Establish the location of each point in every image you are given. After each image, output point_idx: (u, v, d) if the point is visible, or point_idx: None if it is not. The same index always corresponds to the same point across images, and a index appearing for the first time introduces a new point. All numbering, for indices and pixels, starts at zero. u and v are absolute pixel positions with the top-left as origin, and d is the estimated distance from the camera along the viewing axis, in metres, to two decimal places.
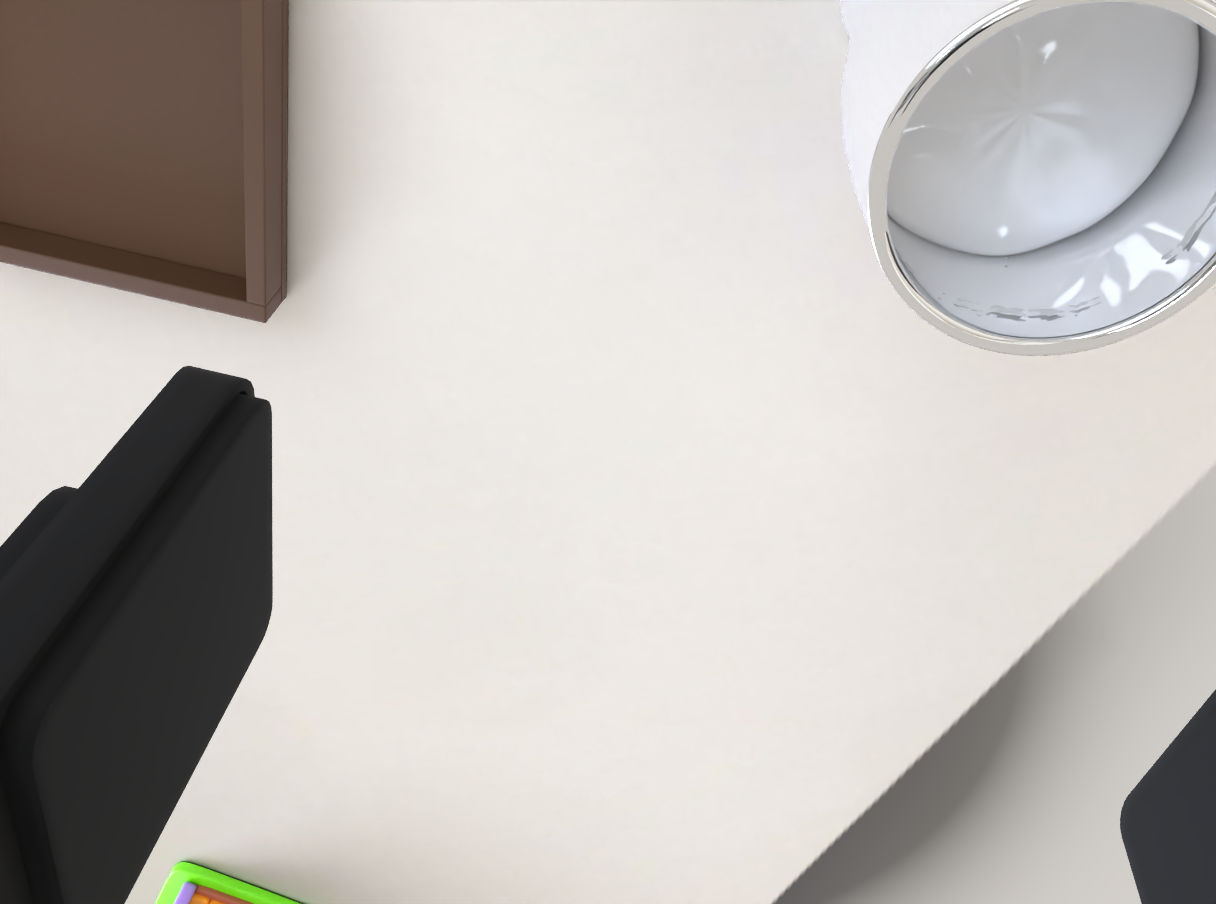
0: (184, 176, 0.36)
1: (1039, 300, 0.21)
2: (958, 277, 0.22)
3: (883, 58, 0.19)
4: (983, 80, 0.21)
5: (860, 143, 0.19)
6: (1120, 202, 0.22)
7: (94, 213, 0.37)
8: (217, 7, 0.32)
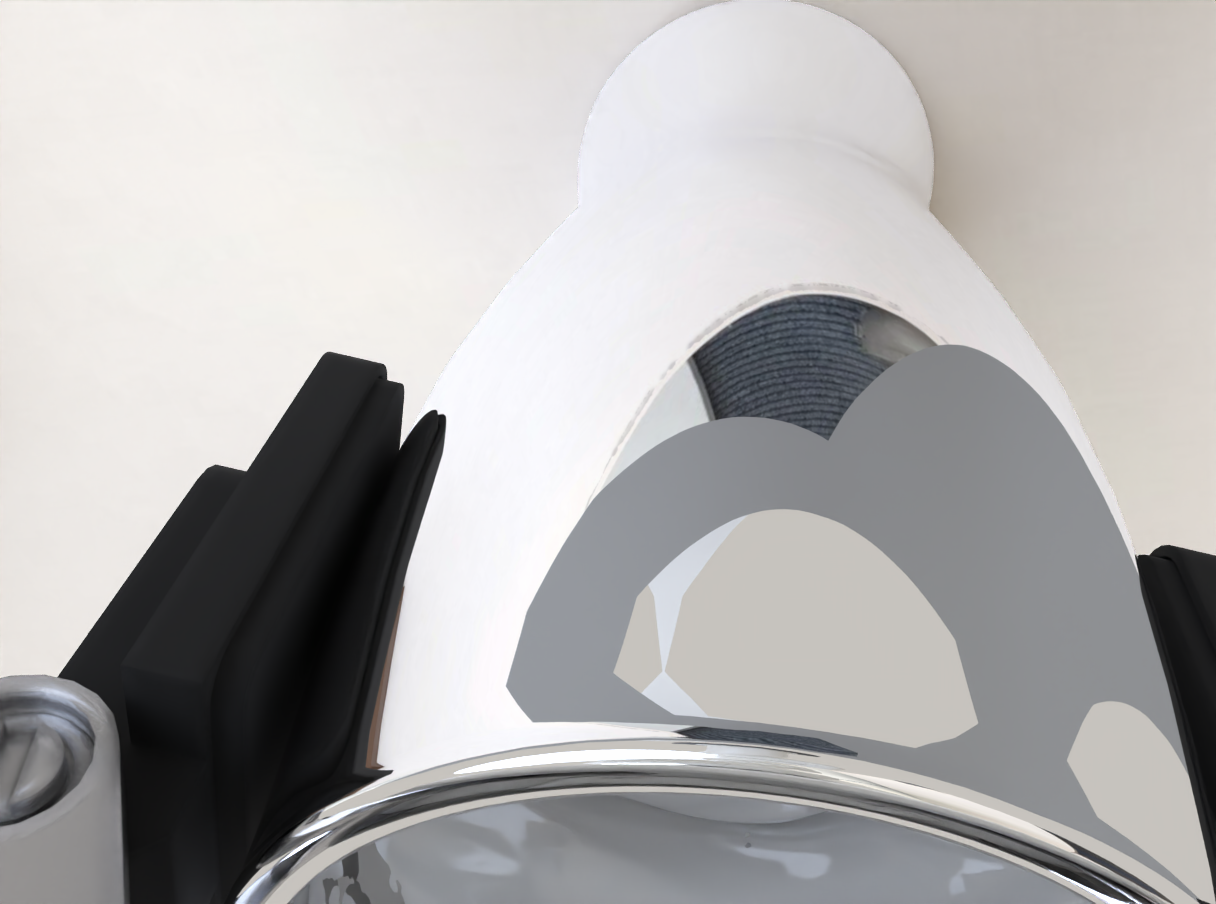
0: None
1: None
2: None
3: (319, 649, 0.08)
4: None
5: None
6: None
7: None
8: None
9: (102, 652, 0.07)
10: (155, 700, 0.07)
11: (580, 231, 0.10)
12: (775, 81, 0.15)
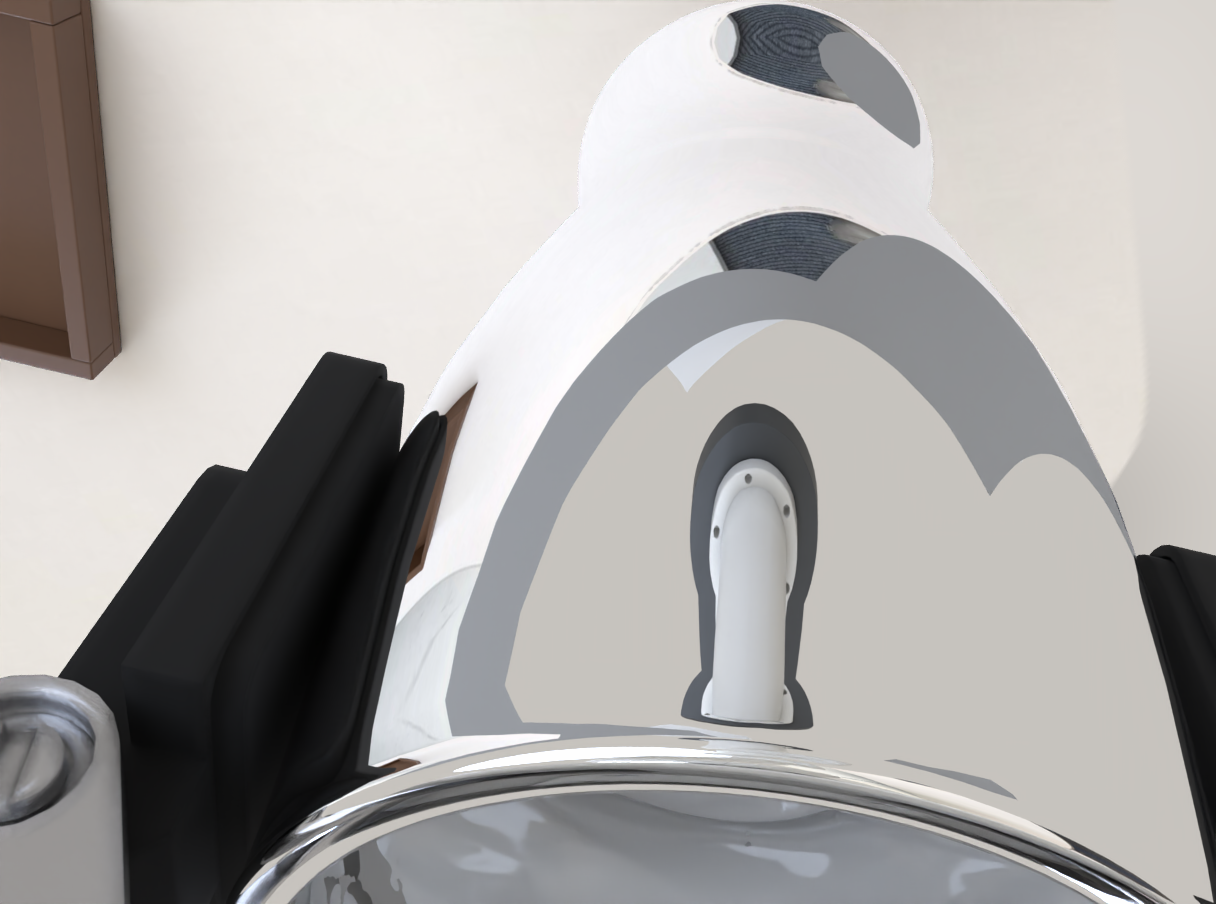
0: (4, 230, 0.35)
1: None
2: None
3: (320, 647, 0.08)
4: None
5: None
6: None
7: None
8: (20, 61, 0.31)
9: (103, 652, 0.07)
10: (156, 700, 0.07)
11: (581, 231, 0.10)
12: (776, 81, 0.15)
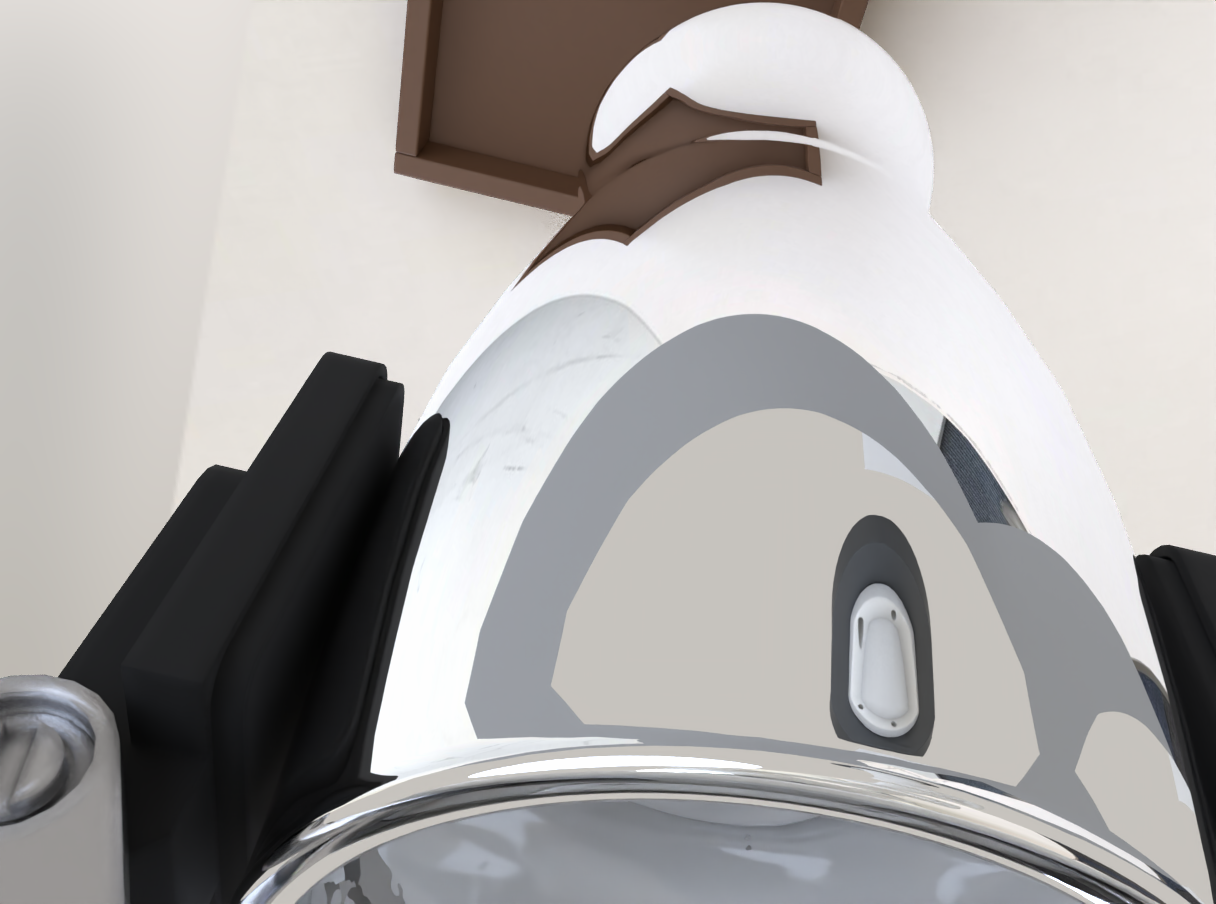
0: None
1: None
2: None
3: (321, 653, 0.08)
4: None
5: None
6: None
7: None
8: None
9: (102, 652, 0.07)
10: (156, 700, 0.07)
11: (581, 235, 0.10)
12: (776, 84, 0.15)
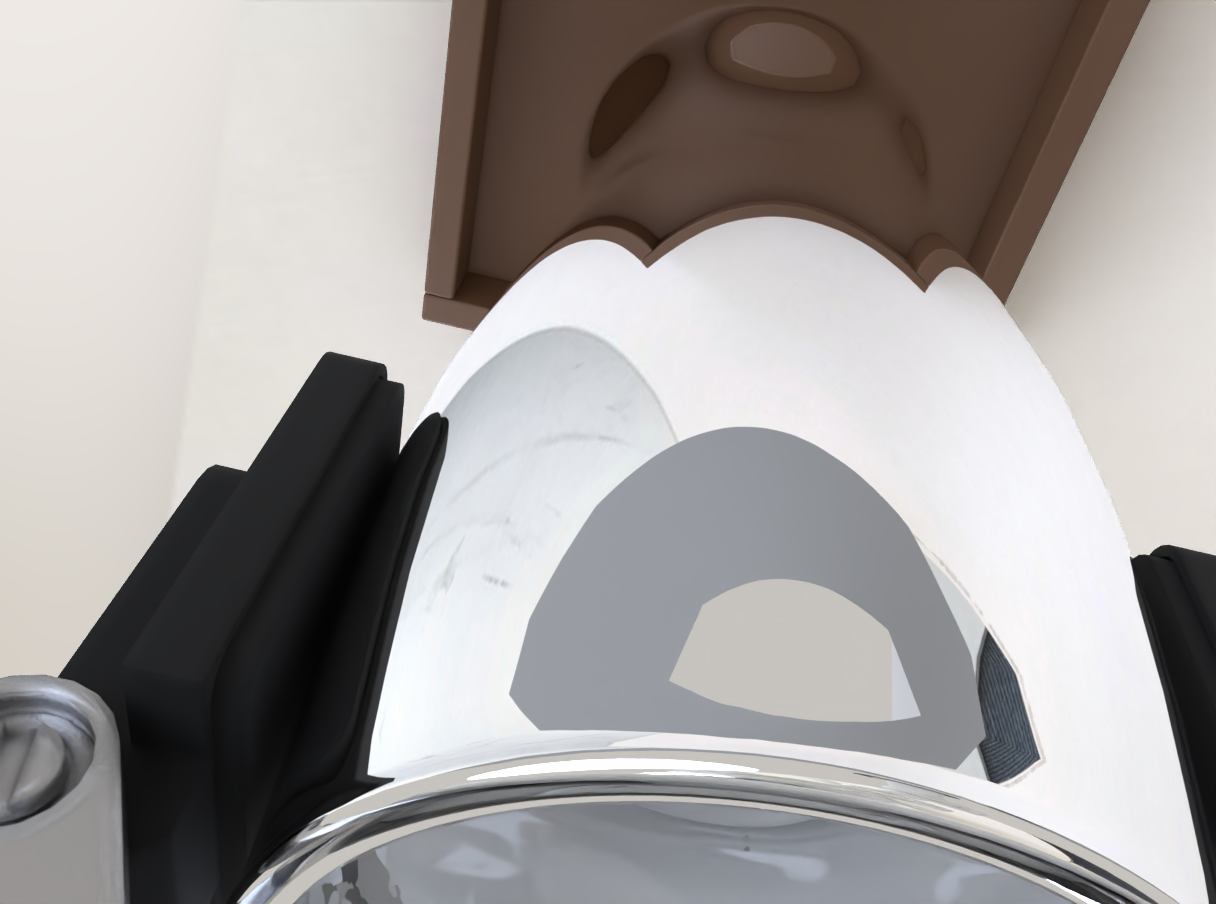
0: None
1: None
2: None
3: (318, 655, 0.08)
4: None
5: None
6: None
7: None
8: None
9: (102, 652, 0.07)
10: (155, 700, 0.07)
11: (579, 237, 0.10)
12: (774, 85, 0.15)
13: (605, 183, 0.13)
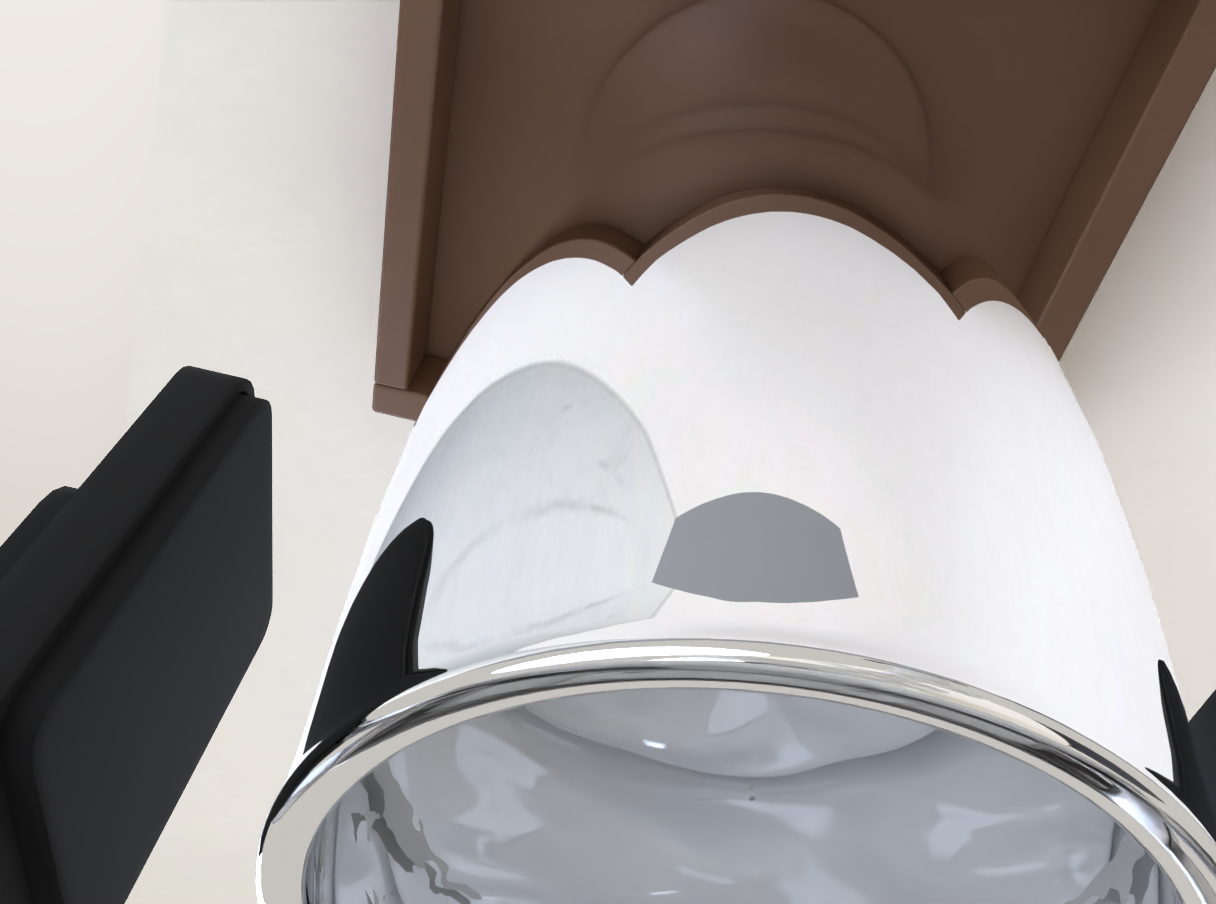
0: None
1: None
2: (642, 860, 0.12)
3: (350, 589, 0.08)
4: None
5: None
6: None
7: None
8: (1064, 13, 0.17)
9: None
10: None
11: (592, 204, 0.11)
12: (777, 68, 0.15)
13: (614, 161, 0.14)
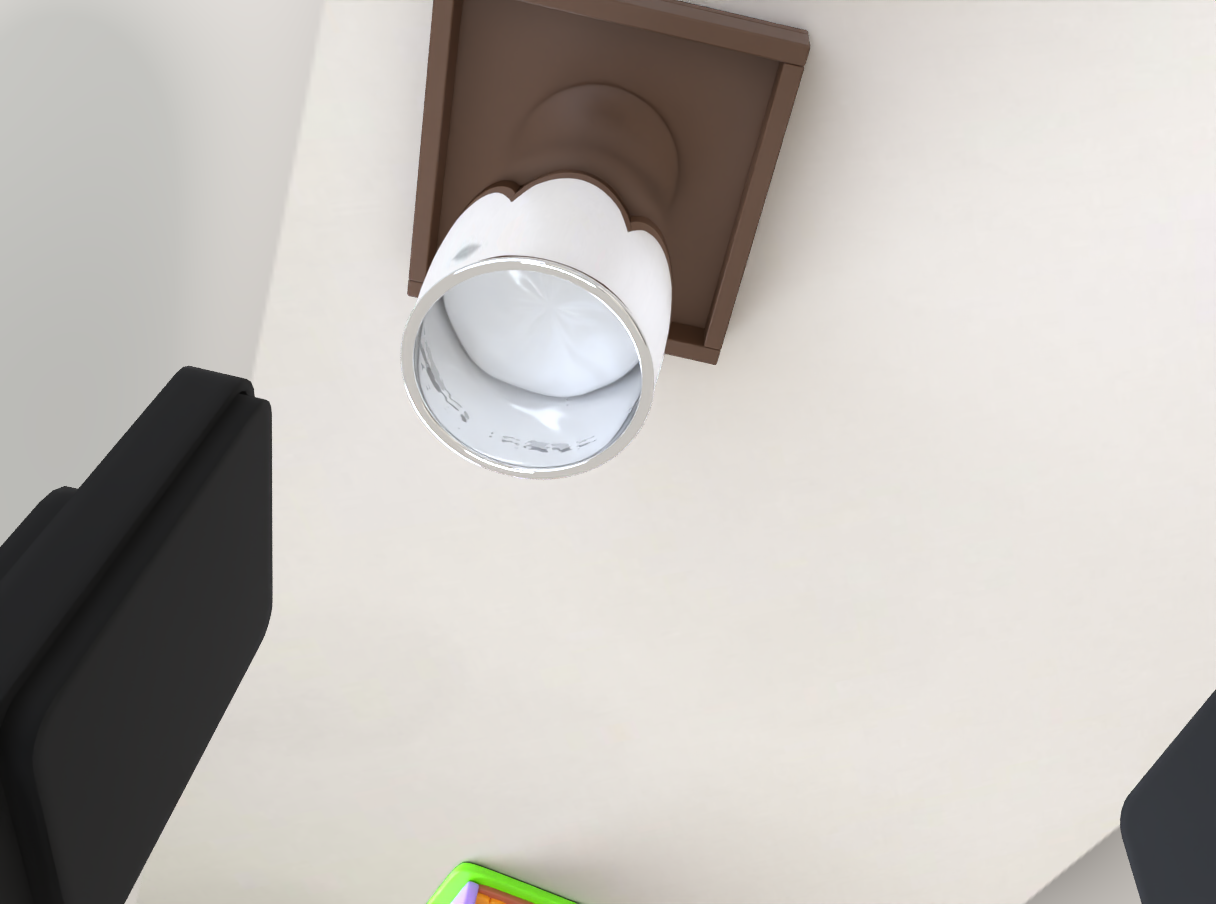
0: None
1: (566, 435, 0.30)
2: (522, 416, 0.31)
3: None
4: (518, 286, 0.30)
5: None
6: (634, 363, 0.31)
7: None
8: (731, 94, 0.37)
9: None
10: None
11: (500, 175, 0.31)
12: (590, 122, 0.35)
13: None
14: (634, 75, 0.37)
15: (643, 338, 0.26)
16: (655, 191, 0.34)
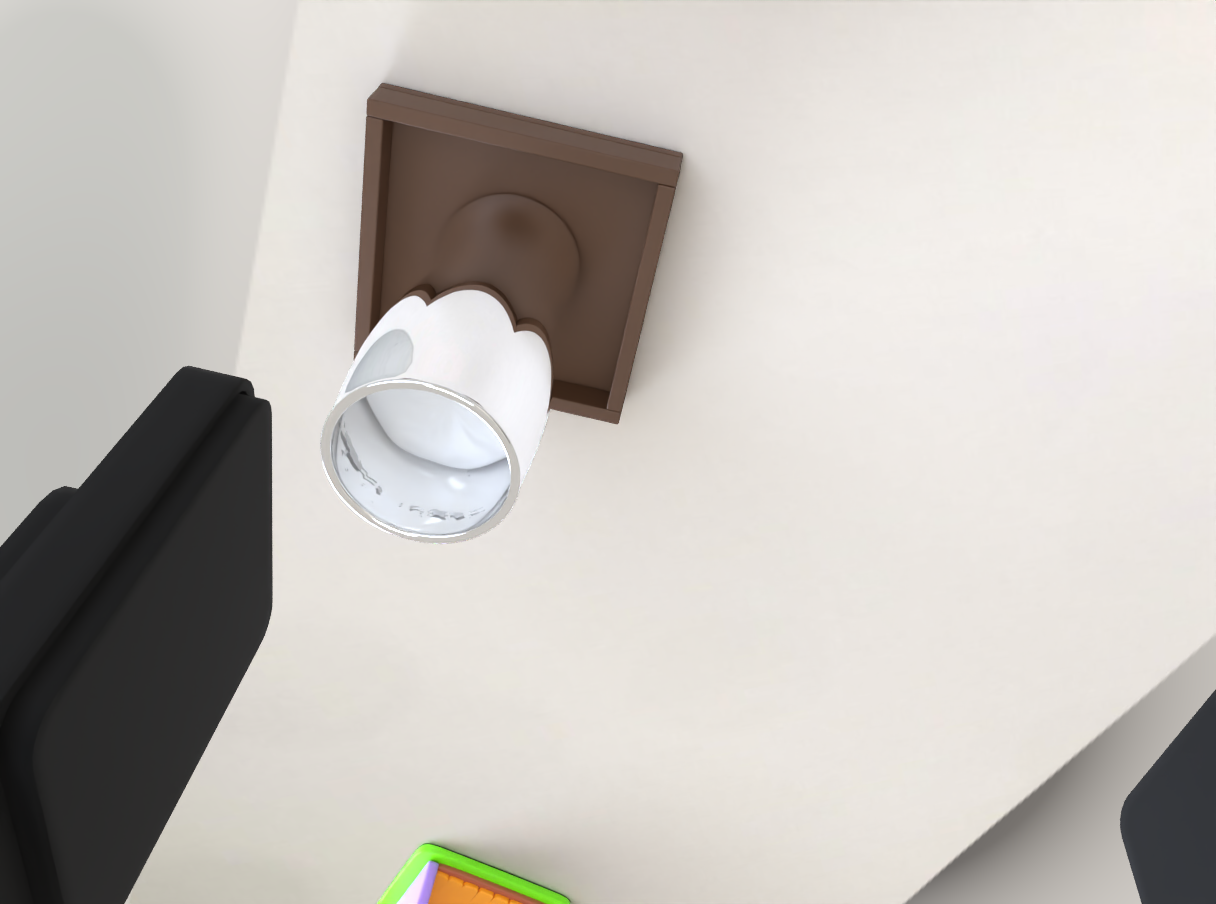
0: (566, 316, 0.47)
1: (462, 504, 0.37)
2: (429, 486, 0.38)
3: None
4: None
5: None
6: None
7: None
8: (621, 204, 0.44)
9: None
10: None
11: (410, 291, 0.38)
12: (496, 232, 0.42)
13: None
14: (538, 187, 0.44)
15: (508, 440, 0.33)
16: (548, 293, 0.41)
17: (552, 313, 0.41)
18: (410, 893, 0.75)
